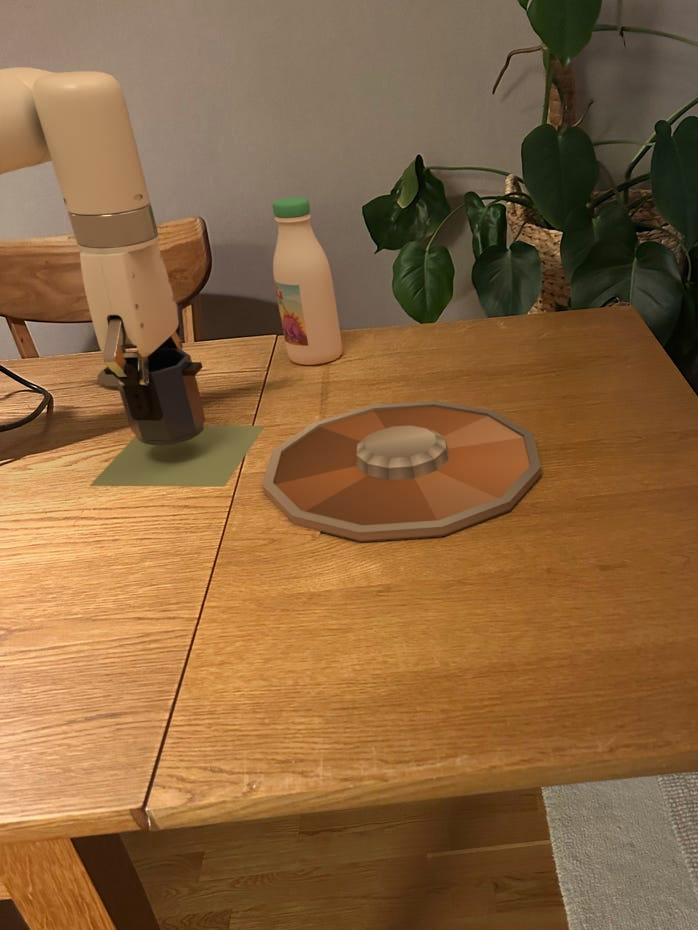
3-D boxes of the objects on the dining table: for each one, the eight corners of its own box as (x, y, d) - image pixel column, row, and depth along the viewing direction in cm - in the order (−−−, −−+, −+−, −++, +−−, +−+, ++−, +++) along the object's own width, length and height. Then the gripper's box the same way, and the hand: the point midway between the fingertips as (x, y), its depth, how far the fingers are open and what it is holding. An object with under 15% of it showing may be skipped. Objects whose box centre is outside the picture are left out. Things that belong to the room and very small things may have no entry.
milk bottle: (337, 343, 122) (315, 191, 110) (348, 361, 116) (325, 202, 104) (284, 351, 120) (255, 197, 108) (292, 369, 115) (263, 209, 102)
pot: (114, 444, 91) (91, 372, 86) (141, 415, 97) (121, 347, 92) (201, 446, 90) (183, 374, 85) (223, 417, 96) (208, 347, 91)
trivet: (84, 392, 111) (82, 386, 111) (119, 362, 120) (117, 356, 119) (164, 392, 110) (162, 386, 110) (193, 361, 119) (191, 356, 118)
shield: (316, 380, 102) (560, 390, 97) (320, 405, 104) (559, 416, 99) (206, 503, 80) (517, 525, 74) (215, 532, 82) (517, 555, 76)
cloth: (90, 487, 90) (89, 485, 90) (145, 428, 102) (144, 425, 101) (225, 488, 89) (224, 486, 88) (265, 427, 100) (264, 425, 100)
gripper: (115, 207, 87) (160, 372, 98) (32, 252, 74) (95, 438, 85) (185, 206, 87) (222, 373, 98) (114, 252, 73) (166, 439, 84)
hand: (162, 402), depth 91 cm, fingers closed on pot, 7 cm apart
